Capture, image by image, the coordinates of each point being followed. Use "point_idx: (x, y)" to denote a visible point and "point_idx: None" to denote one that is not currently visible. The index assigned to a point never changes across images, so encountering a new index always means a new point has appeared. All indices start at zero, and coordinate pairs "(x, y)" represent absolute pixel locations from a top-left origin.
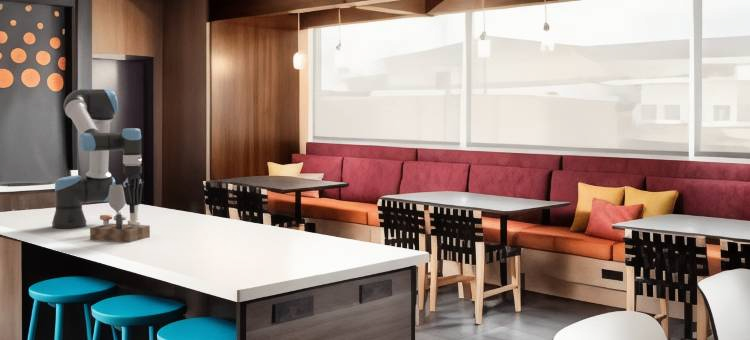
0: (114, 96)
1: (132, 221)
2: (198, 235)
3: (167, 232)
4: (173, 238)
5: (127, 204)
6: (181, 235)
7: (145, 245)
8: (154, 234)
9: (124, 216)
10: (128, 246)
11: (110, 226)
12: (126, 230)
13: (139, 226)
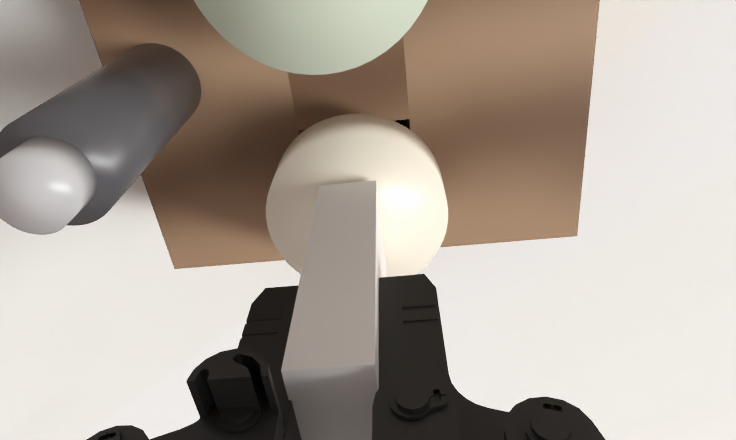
0: None
1: (300, 239)
2: (717, 435)
3: None
4: (530, 373)
5: (200, 380)
6: (697, 345)
7: (172, 383)
8: (724, 102)
9: (322, 71)
10: (59, 316)
11: None
12: (162, 221)
13: (459, 182)
